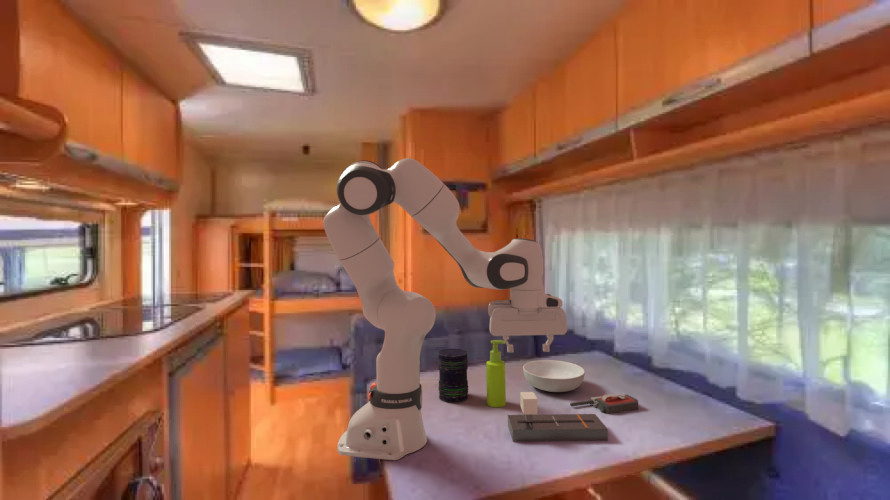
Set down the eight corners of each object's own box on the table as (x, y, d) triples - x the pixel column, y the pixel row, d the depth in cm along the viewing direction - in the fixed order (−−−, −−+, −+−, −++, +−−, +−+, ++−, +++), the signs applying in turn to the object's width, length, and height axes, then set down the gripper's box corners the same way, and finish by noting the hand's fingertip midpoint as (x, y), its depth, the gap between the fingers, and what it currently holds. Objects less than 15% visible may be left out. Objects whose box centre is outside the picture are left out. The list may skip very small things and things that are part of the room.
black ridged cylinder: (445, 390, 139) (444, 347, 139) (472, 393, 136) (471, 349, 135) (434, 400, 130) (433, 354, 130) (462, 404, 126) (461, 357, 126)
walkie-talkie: (623, 400, 129) (568, 407, 123) (622, 386, 129) (568, 393, 123) (643, 410, 120) (585, 419, 115) (643, 396, 120) (585, 404, 115)
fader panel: (512, 441, 102) (512, 429, 102) (507, 425, 111) (507, 414, 111) (607, 440, 101) (607, 428, 101) (595, 424, 110) (594, 413, 110)
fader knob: (523, 424, 104) (523, 399, 104) (520, 416, 109) (520, 392, 109) (537, 424, 104) (537, 398, 104) (533, 416, 109) (533, 391, 109)
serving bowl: (523, 397, 132) (523, 376, 132) (522, 377, 152) (522, 358, 152) (590, 400, 128) (589, 379, 128) (580, 379, 148) (579, 360, 148)
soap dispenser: (508, 408, 123) (507, 343, 123) (486, 406, 124) (484, 342, 124) (509, 401, 129) (508, 338, 128) (487, 399, 130) (486, 338, 130)
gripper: (488, 302, 103) (490, 355, 104) (568, 300, 103) (569, 354, 103) (486, 298, 110) (488, 349, 110) (562, 297, 109) (563, 347, 109)
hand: (528, 351), depth 106 cm, fingers open, 8 cm apart
